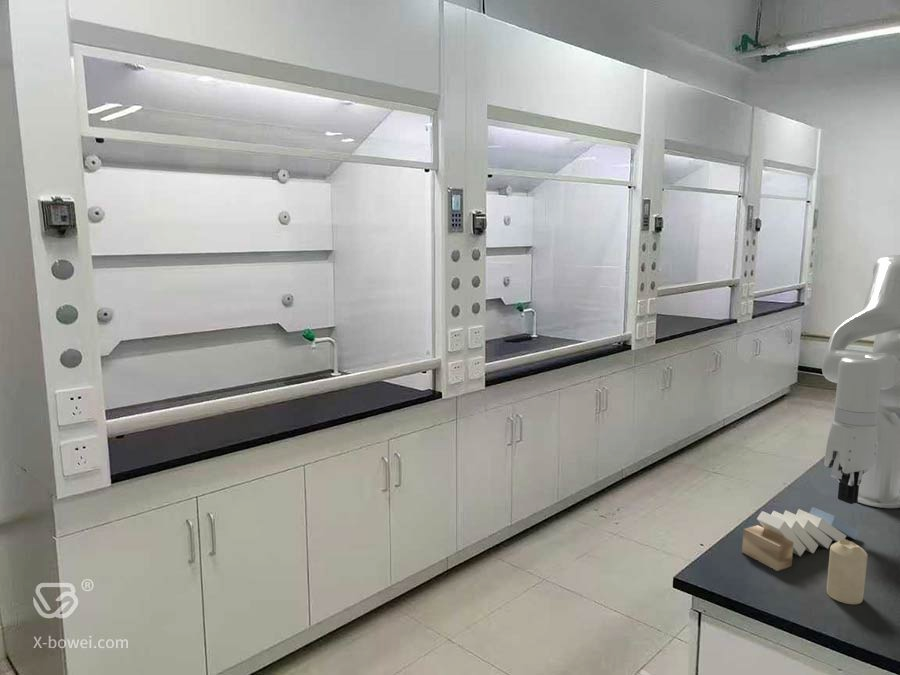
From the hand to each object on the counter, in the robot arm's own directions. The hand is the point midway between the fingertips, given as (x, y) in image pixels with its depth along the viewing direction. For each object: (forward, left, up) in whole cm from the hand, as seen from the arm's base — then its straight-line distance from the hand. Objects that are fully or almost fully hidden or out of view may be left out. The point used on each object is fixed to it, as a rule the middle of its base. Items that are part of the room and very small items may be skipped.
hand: (847, 501), depth 133 cm
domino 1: (+13, -10, -7) cm, 18 cm away
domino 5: (0, 0, -7) cm, 7 cm away
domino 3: (+6, -5, -7) cm, 11 cm away
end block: (+18, -15, -8) cm, 25 cm away
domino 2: (+10, -8, -7) cm, 14 cm away
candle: (+27, -3, -8) cm, 28 cm away
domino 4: (+3, -2, -7) cm, 8 cm away
